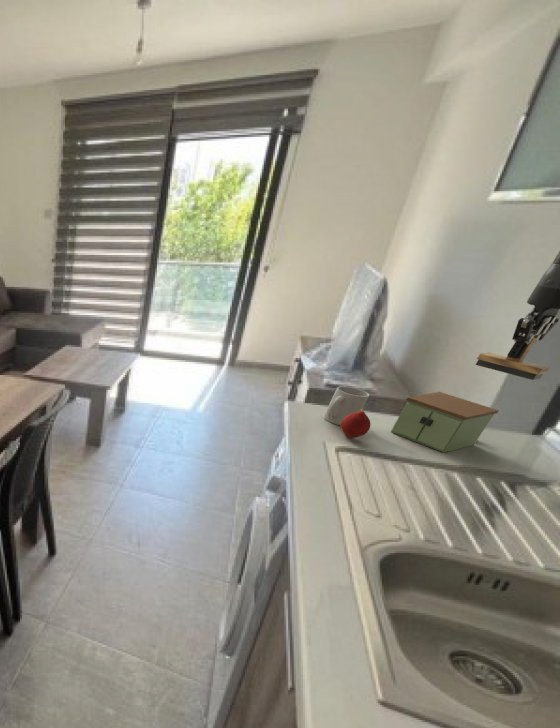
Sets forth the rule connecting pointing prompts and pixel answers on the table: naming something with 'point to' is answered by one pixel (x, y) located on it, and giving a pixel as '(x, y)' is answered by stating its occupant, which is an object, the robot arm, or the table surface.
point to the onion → (355, 424)
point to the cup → (345, 403)
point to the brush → (513, 364)
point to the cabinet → (442, 421)
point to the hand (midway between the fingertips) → (515, 357)
